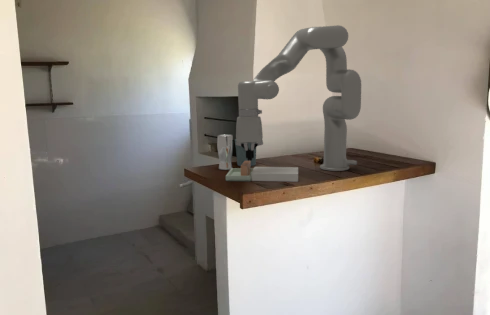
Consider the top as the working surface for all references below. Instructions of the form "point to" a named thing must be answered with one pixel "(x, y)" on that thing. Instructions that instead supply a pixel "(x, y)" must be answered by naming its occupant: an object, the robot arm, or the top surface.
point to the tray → (237, 175)
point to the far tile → (249, 165)
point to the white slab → (275, 174)
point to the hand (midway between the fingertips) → (250, 159)
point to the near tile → (245, 169)
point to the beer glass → (225, 151)
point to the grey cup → (244, 155)
